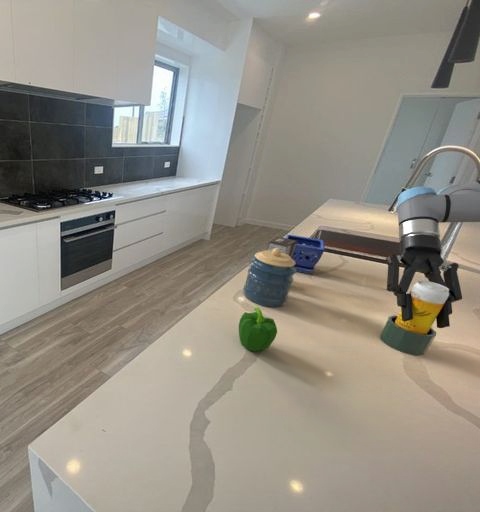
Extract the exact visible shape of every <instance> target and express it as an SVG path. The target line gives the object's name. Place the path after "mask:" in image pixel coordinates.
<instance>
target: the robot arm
mask: <svg viewBox="0 0 480 512" xmlns="http://www.w3.org/2000/svg"><path fill="white" fill-rule="evenodd" d="M396 211H397V219H398V239H399V243H398V244H399V245H398V246H399V254H398V255H396V254H395V253H393V254H390V255H389V256H387V257H386V258H385V262H386V265H387V276H386V277H387V278H386V291H387V292H389V293H393V296H395V297H396V305H397V307H399V308H400V311H401V313H402V321H408V320H412V319H413V310H412V296H411V294H409V293H410V292H409V293H408V291H409V289H410V286H411V284H412V282H413V279H414V277H415V274H416V273H420V274H423V275H424V278H426V279H427V281H429V282H433V283H437V284H440V285H443V286H445V287H447V288H448V289H449V296H448V298H447V300H446V301H445V303H444V305H443V307H442V308H441V310H440V312H439V314H438V316H437V317H436V319H435V321H436V328H437V329H444V328H448V327H450V326H451V324H450V323H451V322H450V315H453V305H452V303H455V302H458V301H461V300H463V295H462V290H461V289H462V288H461V285H460V280H459V274H458V270H459V263H457V262H452V263H450V262H447V261H445V260H444V259H443V257H442V256H441V255H442V242H441V232H440V223H480V179H477V180H474V181H470V182H466V183H464V184H459V185H458V184H455V185H454V184H453V185H448V186H445V187H443V188H441V189H440V190H438V192H436V190H435V189H434V188H432V187H426V186H415V187H411V188H408V189H406V190H404V191H402V192H401V193H400V194H399V195H398V197H397V208H396ZM400 263H402V265H403V266H404V269H403V271H402V275H401V278H400ZM440 267H441V269H440ZM442 272H443V273H442ZM441 274H442V275H441ZM442 276H443V277H442Z"/></svg>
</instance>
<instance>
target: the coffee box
mask: <svg viewBox="0 0 480 512" xmlns="http://www.w3.org/2000/svg"><path fill="white" fill-rule="evenodd" d="M296 243H297V241H295V240H291V239H287V238H286V237H283V236H277V237H275V238H272V239H271V240H269V241H268V244H267V248H266V250H271V251H272V250H273V249H274V248H279V249H281V251H282V253H284V254H287V255H289V256H290V257H291V258H292V256H293V253H294V250H295V247H296Z"/></svg>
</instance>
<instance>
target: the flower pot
mask: <svg viewBox="0 0 480 512" xmlns="http://www.w3.org/2000/svg"><path fill="white" fill-rule="evenodd" d="M285 238H287V239H291V240H295V241H297V243H296V247H295V250H294V253H293V256H292V259H293V260H294V261H295V263H296V264H295V265H294V267H295V268H296V272H299V273H303V274H312V273H313V272H314V271H315V266H316V265H317V264H318V263H319V261H320V260H321V258H322V256H323V254H324V252H325V249H326V248H325V241H324V240H323V239H318V238H313V237H307V236H301V235H293V234H286V235H285Z"/></svg>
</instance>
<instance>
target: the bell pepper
mask: <svg viewBox="0 0 480 512" xmlns="http://www.w3.org/2000/svg"><path fill="white" fill-rule="evenodd" d="M253 310H254V311H253V312H244V313H243V314H242V315H241V317H240V318H239V323H238V337H239V341H240V343H241V346H242V347H243V348H245V349H246V350H249V351H251V352H259V351H266V350H268V349H269V347H270V346H271V345H272V343H274V341H275V339H276V337H277V334H278V327H277V325H276V323H275V320H274V319H273V318H270V317H265V316H263V313H262V310H261V309H260V308H259V307H257V306H254V307H253Z"/></svg>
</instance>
